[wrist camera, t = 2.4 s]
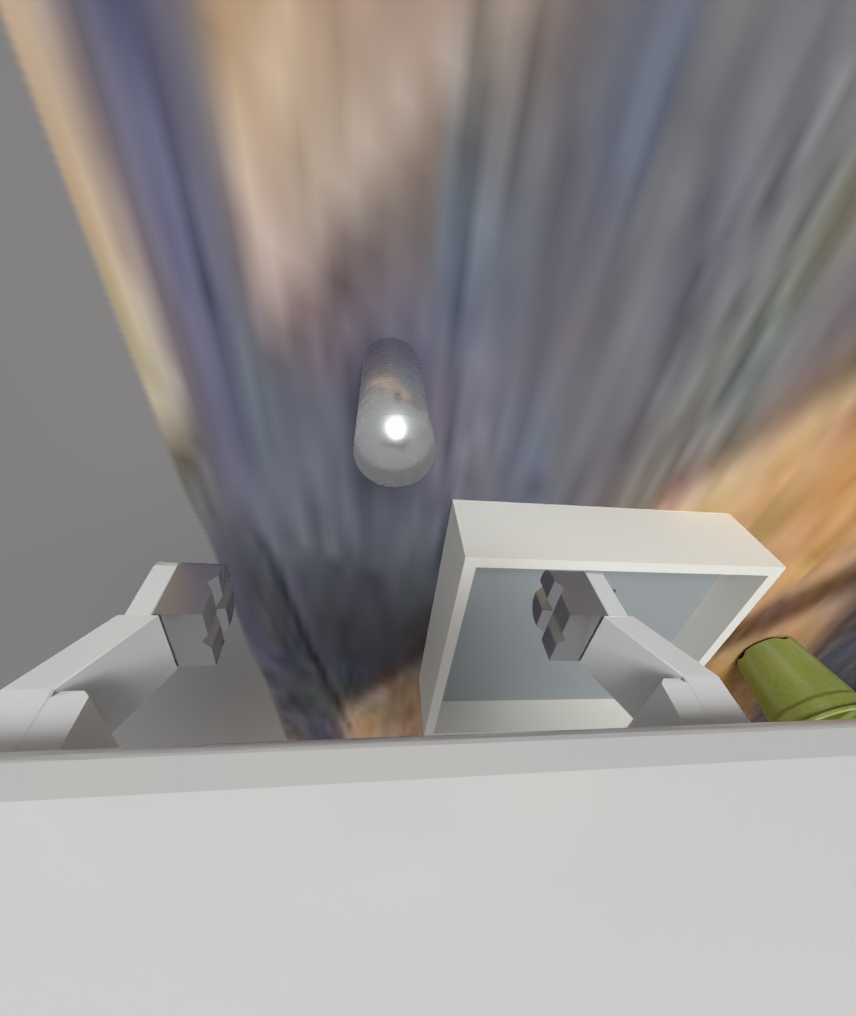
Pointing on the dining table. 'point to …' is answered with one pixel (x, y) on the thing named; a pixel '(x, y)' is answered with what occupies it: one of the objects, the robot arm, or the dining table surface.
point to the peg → (393, 417)
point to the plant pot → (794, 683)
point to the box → (577, 546)
